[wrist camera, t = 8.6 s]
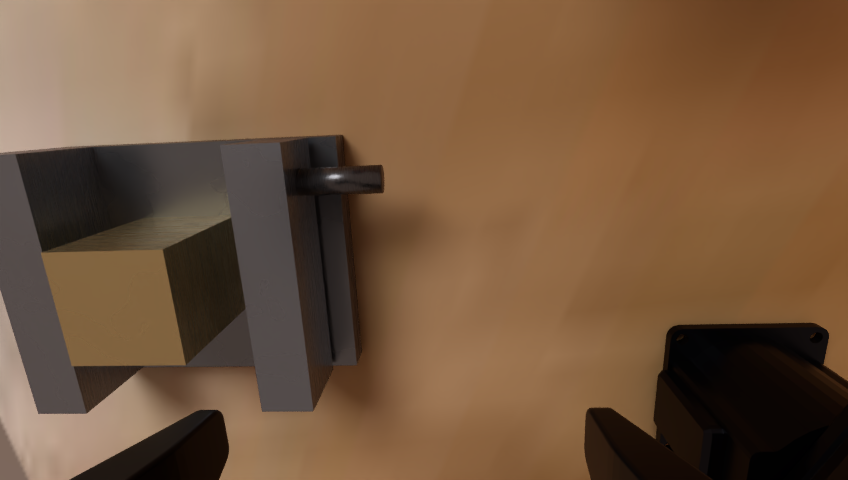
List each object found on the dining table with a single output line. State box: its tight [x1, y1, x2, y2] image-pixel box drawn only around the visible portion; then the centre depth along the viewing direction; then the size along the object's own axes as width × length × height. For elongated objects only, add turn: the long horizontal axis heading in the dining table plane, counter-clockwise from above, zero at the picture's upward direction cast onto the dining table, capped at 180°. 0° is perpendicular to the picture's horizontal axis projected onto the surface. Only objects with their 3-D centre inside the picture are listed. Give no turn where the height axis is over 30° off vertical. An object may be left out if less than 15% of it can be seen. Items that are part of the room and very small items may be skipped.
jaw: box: [220, 138, 384, 412], centre depth 18 cm, size 5×10×3 cm, turn 3°
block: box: [41, 215, 246, 366], centre depth 17 cm, size 4×4×5 cm
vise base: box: [0, 135, 362, 414], centre depth 19 cm, size 12×10×5 cm
